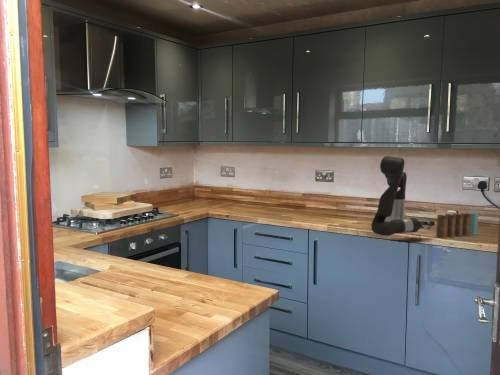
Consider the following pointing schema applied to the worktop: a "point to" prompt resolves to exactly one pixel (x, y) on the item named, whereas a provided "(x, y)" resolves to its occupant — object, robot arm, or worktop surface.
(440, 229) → the domino
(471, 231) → the domino
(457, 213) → the medicine bottle
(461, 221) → the domino
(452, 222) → the domino
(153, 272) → the worktop surface
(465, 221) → the domino
